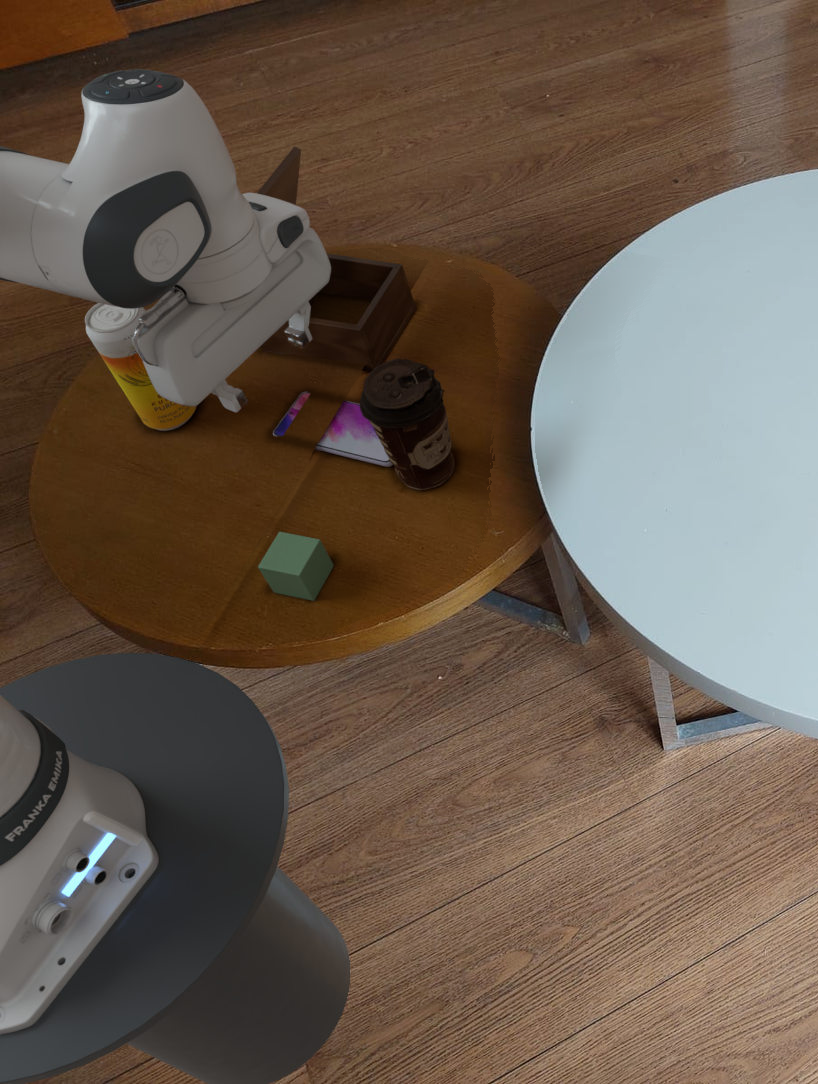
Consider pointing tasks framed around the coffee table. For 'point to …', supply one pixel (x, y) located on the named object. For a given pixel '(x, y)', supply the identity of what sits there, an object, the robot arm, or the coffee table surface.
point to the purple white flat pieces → (343, 433)
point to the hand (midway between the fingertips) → (270, 373)
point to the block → (296, 566)
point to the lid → (284, 179)
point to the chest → (375, 326)
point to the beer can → (131, 365)
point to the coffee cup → (410, 421)
